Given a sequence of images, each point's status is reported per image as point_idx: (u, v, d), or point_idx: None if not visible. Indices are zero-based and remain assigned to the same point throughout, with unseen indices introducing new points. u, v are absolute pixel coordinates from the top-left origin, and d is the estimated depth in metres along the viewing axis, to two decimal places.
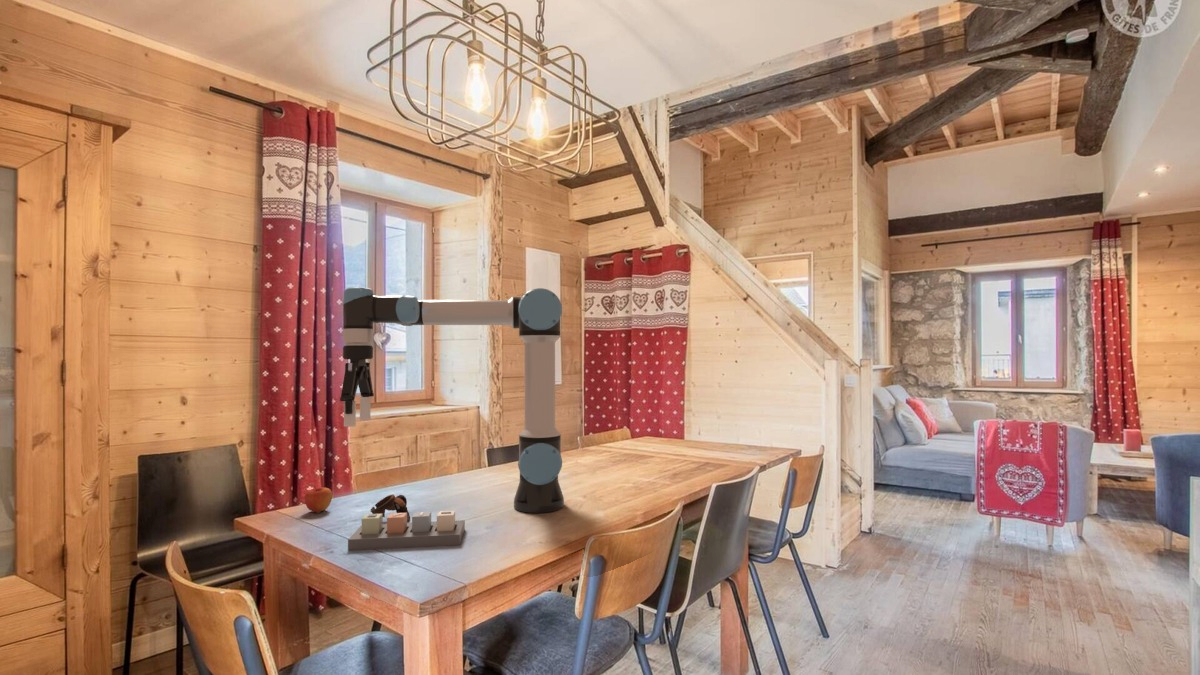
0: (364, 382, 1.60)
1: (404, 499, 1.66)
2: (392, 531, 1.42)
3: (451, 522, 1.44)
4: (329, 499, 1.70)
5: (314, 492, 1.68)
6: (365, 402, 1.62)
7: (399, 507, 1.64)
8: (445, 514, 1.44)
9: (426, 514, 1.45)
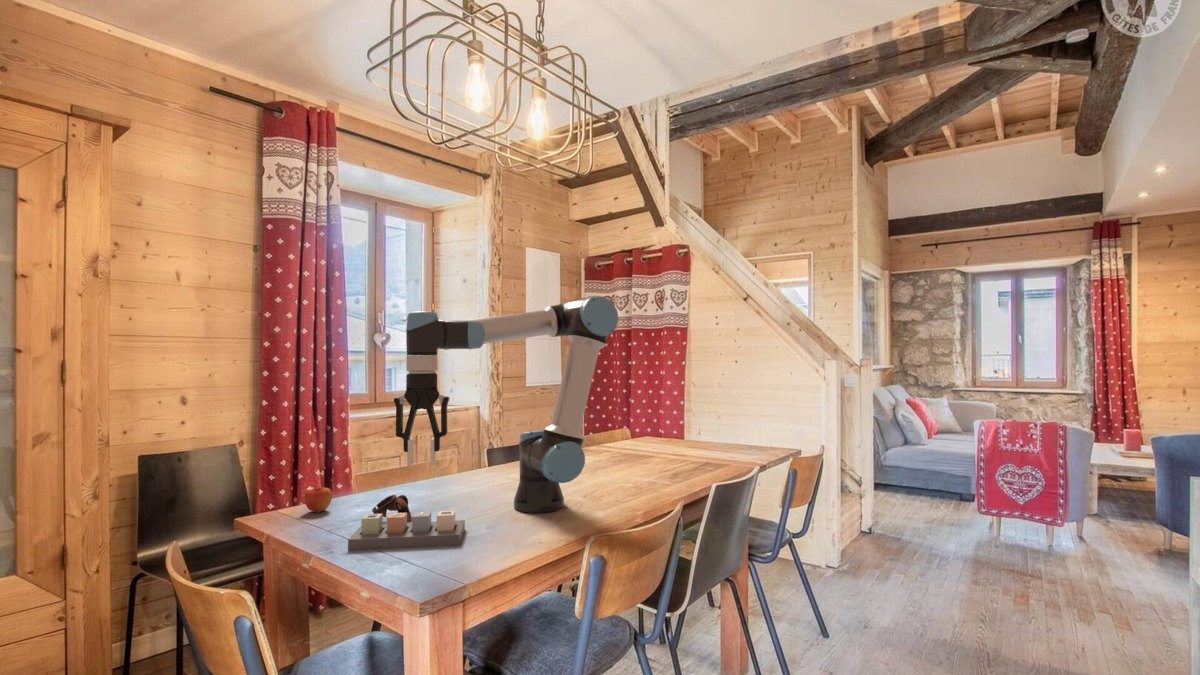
0: None
1: (405, 499, 1.66)
2: (392, 531, 1.42)
3: (451, 522, 1.44)
4: (329, 499, 1.70)
5: (314, 492, 1.68)
6: None
7: (400, 507, 1.64)
8: (445, 514, 1.44)
9: (426, 514, 1.45)
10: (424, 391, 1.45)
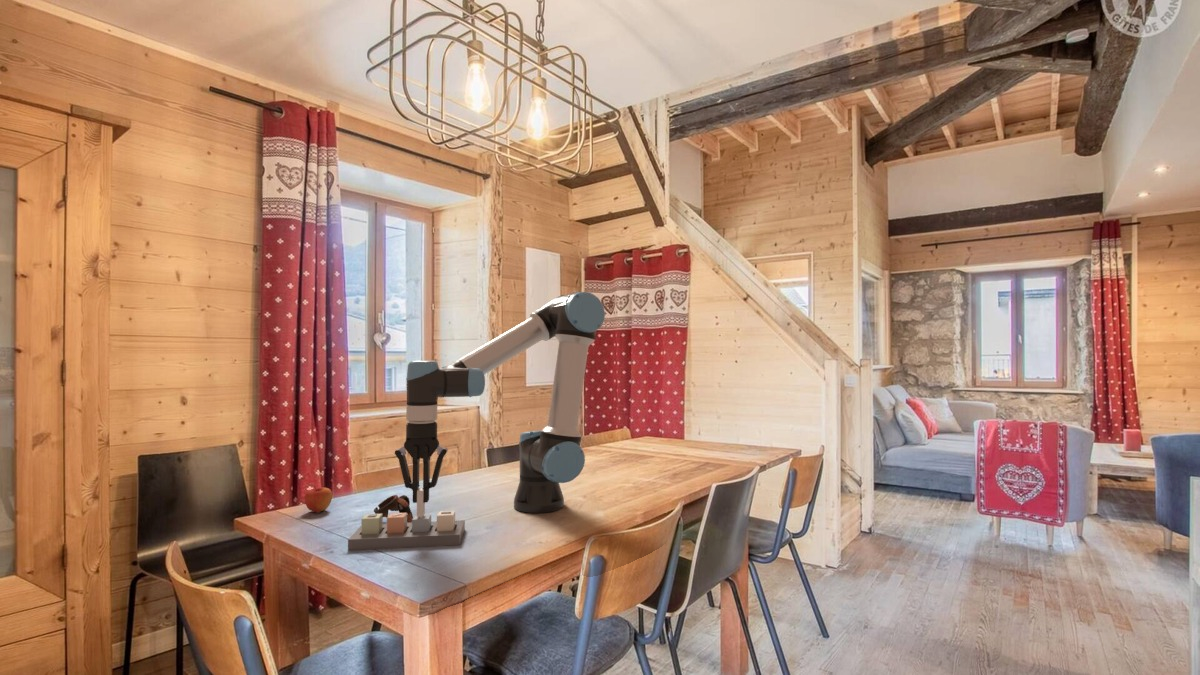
0: None
1: (407, 499, 1.65)
2: (392, 531, 1.42)
3: (451, 522, 1.44)
4: (329, 499, 1.70)
5: (314, 492, 1.68)
6: None
7: (402, 507, 1.63)
8: (445, 514, 1.44)
9: (426, 517, 1.45)
10: (425, 439, 1.44)
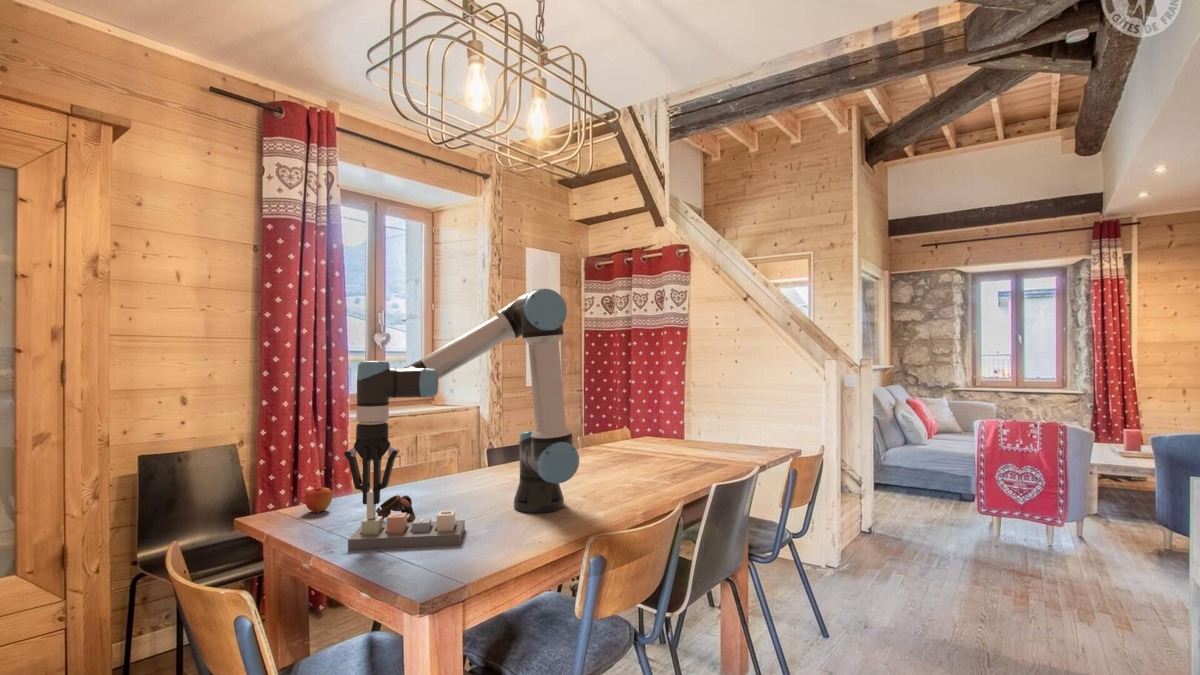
0: None
1: (409, 500, 1.65)
2: (392, 531, 1.42)
3: (451, 522, 1.44)
4: (329, 499, 1.70)
5: (314, 492, 1.68)
6: None
7: (404, 508, 1.63)
8: (445, 514, 1.44)
9: (426, 521, 1.44)
10: (375, 439, 1.43)
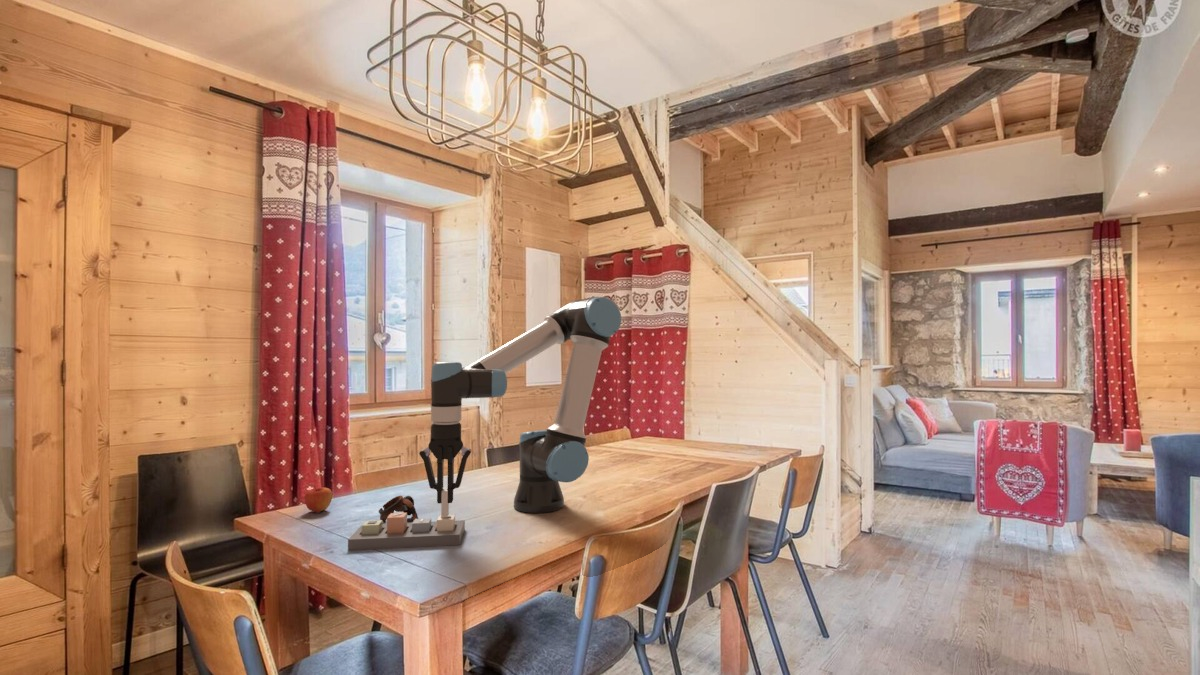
0: (448, 467, 1.45)
1: (411, 500, 1.65)
2: (392, 531, 1.42)
3: (451, 526, 1.44)
4: (329, 499, 1.70)
5: (314, 492, 1.68)
6: None
7: (407, 508, 1.63)
8: (445, 518, 1.44)
9: (426, 521, 1.44)
10: (449, 439, 1.45)
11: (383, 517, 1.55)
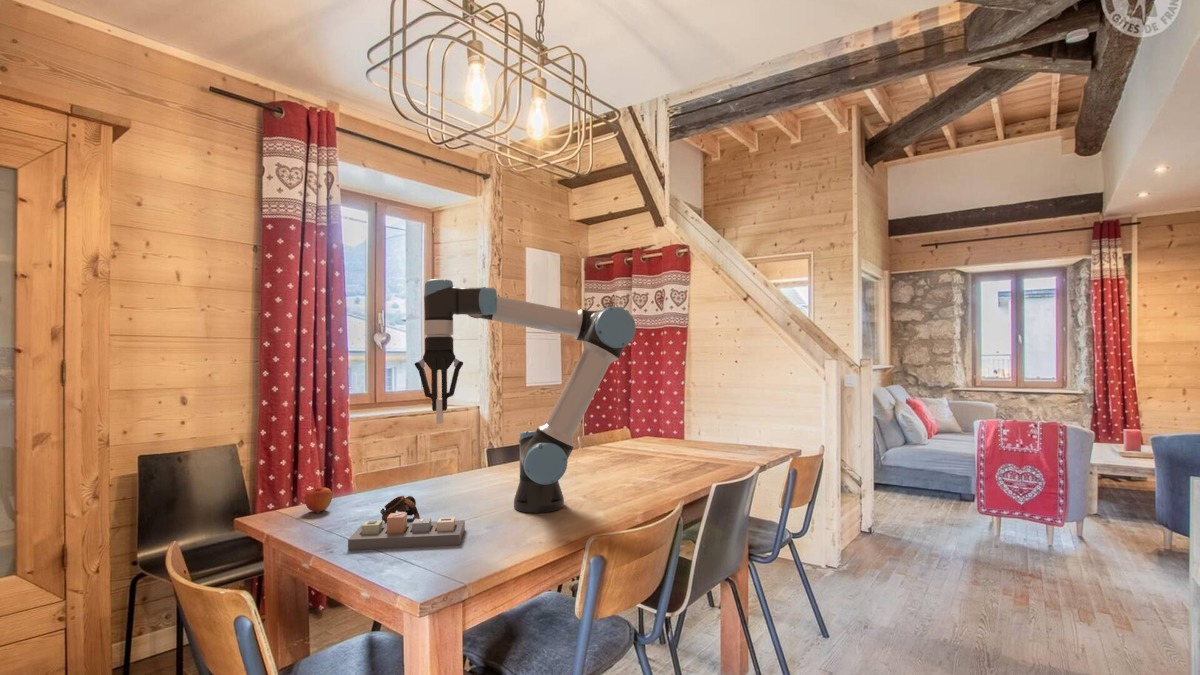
0: None
1: (413, 500, 1.64)
2: (392, 531, 1.42)
3: (451, 529, 1.44)
4: (329, 499, 1.70)
5: (314, 492, 1.68)
6: None
7: (408, 508, 1.62)
8: (445, 521, 1.44)
9: (426, 521, 1.44)
10: (442, 351, 1.56)
11: (385, 517, 1.55)
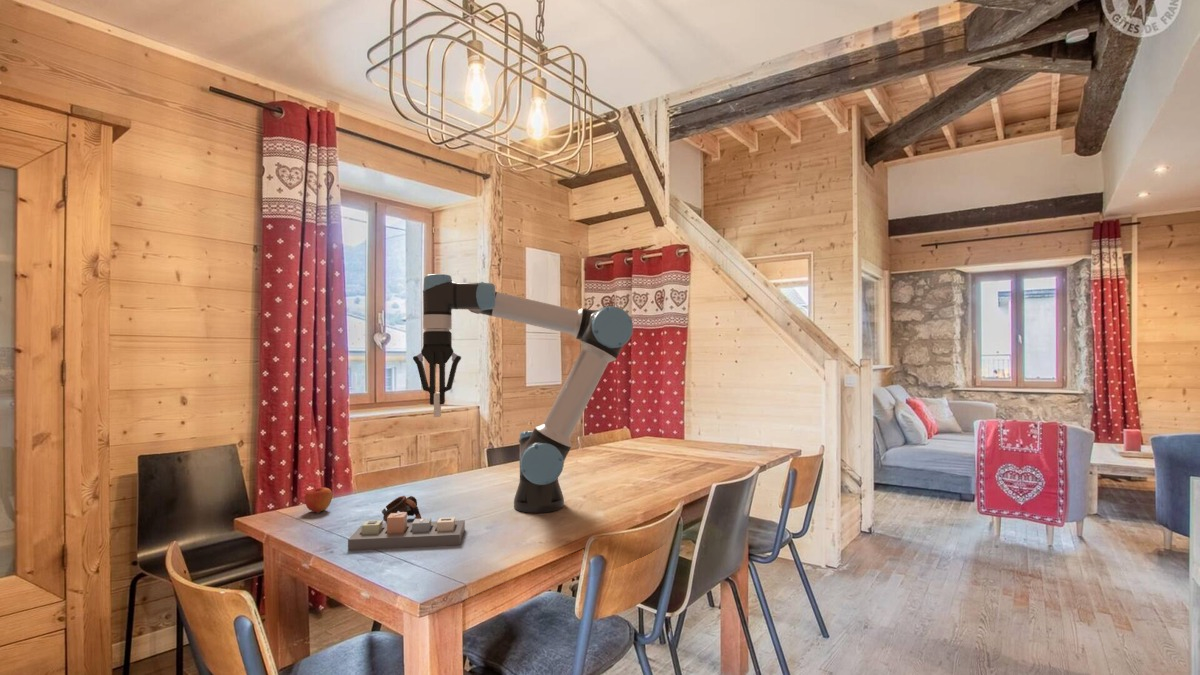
0: None
1: (414, 500, 1.64)
2: (392, 531, 1.42)
3: (451, 529, 1.44)
4: (329, 499, 1.70)
5: (314, 492, 1.68)
6: None
7: (410, 509, 1.62)
8: (445, 521, 1.44)
9: (426, 521, 1.44)
10: (441, 346, 1.57)
11: (386, 517, 1.54)
